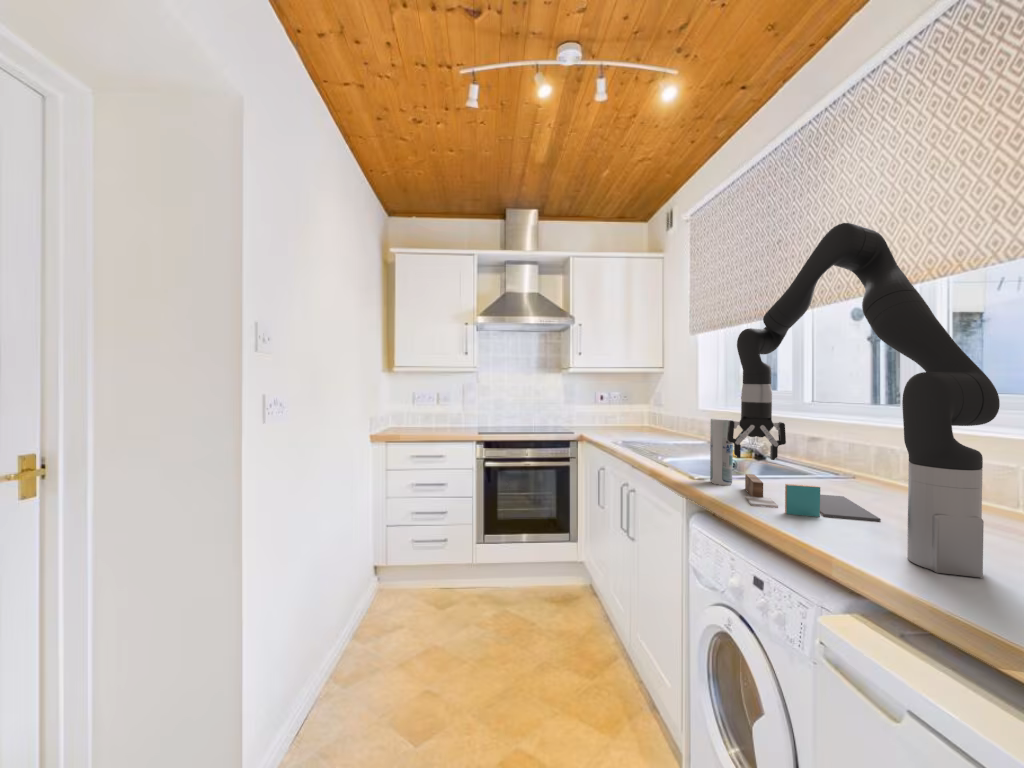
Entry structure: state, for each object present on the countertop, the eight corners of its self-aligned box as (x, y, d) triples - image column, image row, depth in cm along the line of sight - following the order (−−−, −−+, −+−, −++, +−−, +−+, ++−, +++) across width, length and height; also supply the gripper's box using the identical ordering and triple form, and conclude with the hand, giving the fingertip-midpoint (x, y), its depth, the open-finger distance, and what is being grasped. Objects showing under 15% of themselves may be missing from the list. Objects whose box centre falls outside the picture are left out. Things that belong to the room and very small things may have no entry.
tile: (820, 517, 107) (820, 487, 107) (786, 514, 109) (786, 484, 109) (818, 515, 108) (818, 486, 108) (784, 512, 110) (785, 483, 110)
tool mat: (880, 521, 104) (880, 518, 104) (824, 516, 107) (824, 514, 107) (843, 498, 125) (843, 496, 125) (797, 494, 128) (797, 492, 128)
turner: (738, 488, 135) (738, 473, 135) (761, 490, 133) (761, 474, 133) (751, 505, 116) (751, 488, 116) (778, 508, 114) (778, 490, 114)
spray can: (715, 480, 147) (716, 417, 147) (736, 483, 142) (737, 419, 142) (706, 482, 142) (706, 418, 142) (727, 486, 138) (728, 420, 138)
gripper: (730, 400, 126) (729, 459, 126) (789, 401, 121) (788, 462, 122) (726, 399, 133) (725, 455, 133) (782, 400, 129) (781, 458, 129)
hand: (755, 458), depth 127 cm, fingers open, 8 cm apart
